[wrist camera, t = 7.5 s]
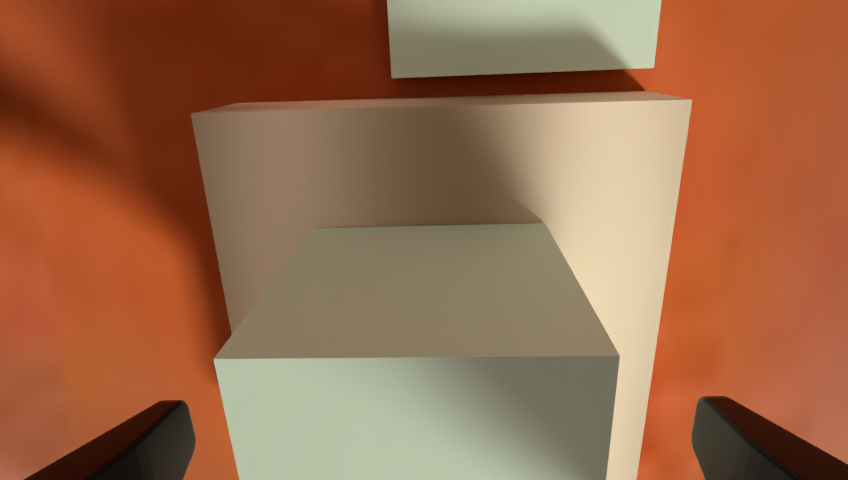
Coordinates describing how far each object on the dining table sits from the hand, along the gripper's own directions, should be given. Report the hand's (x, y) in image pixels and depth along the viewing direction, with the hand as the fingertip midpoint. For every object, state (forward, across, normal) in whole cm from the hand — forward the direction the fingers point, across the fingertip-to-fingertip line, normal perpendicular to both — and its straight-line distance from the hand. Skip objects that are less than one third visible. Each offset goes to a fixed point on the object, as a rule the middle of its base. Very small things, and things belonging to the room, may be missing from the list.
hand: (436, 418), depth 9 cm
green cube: (+3, 0, 0) cm, 3 cm away
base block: (+6, 0, 0) cm, 6 cm away
